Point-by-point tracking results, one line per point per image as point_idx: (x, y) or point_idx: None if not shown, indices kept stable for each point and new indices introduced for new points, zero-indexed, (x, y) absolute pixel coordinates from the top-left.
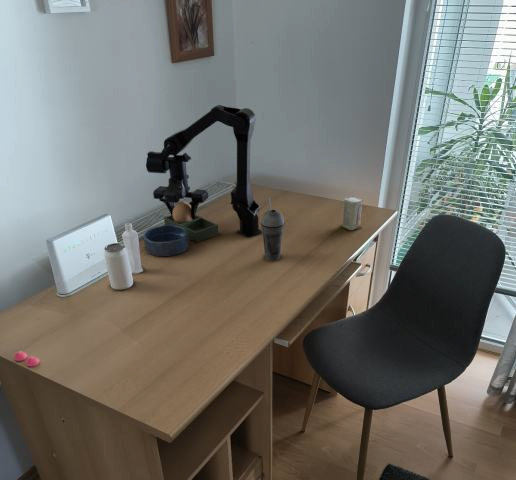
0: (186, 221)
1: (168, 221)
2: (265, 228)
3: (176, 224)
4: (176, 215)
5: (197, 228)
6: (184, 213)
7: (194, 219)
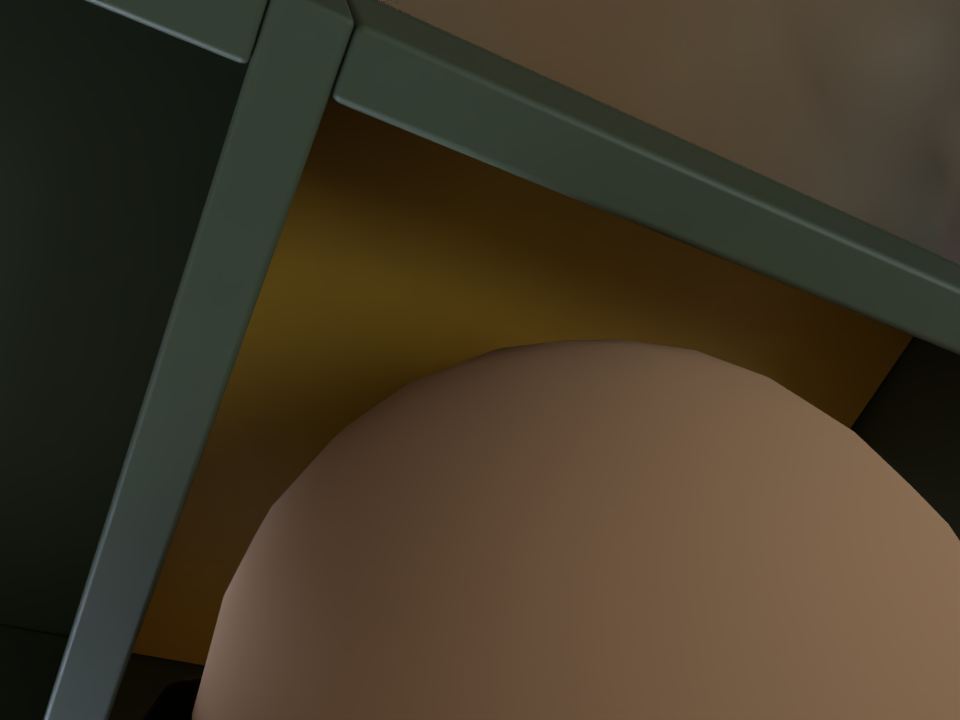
0: (299, 476)
1: (948, 275)
2: None
3: (521, 87)
4: (725, 466)
5: (51, 483)
6: (334, 714)
7: (110, 690)
